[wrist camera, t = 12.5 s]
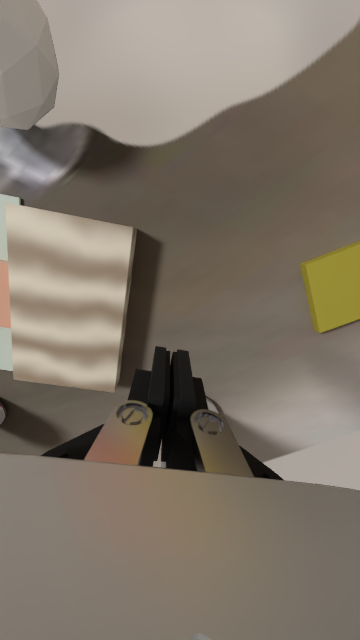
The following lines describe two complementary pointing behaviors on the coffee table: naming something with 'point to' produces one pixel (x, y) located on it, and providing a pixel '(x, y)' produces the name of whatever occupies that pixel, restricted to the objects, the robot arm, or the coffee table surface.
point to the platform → (68, 297)
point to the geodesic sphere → (25, 64)
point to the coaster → (4, 295)
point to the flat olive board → (333, 287)
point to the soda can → (2, 413)
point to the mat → (3, 341)
